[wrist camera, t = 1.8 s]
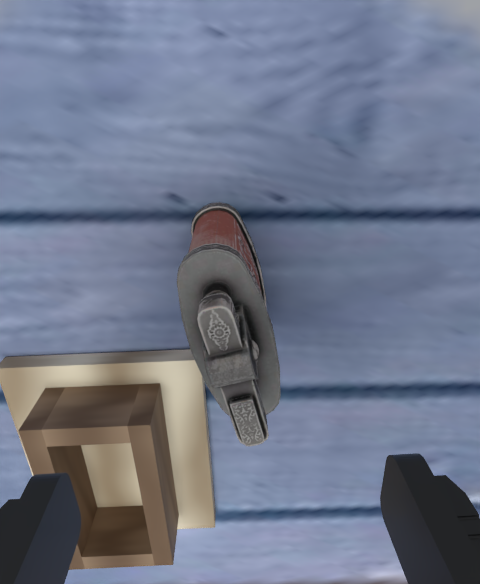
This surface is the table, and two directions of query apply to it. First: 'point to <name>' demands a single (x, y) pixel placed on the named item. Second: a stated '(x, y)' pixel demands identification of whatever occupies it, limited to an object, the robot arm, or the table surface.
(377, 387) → the table surface
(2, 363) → the wooden box with base
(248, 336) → the lighter
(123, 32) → the table surface
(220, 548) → the table surface
